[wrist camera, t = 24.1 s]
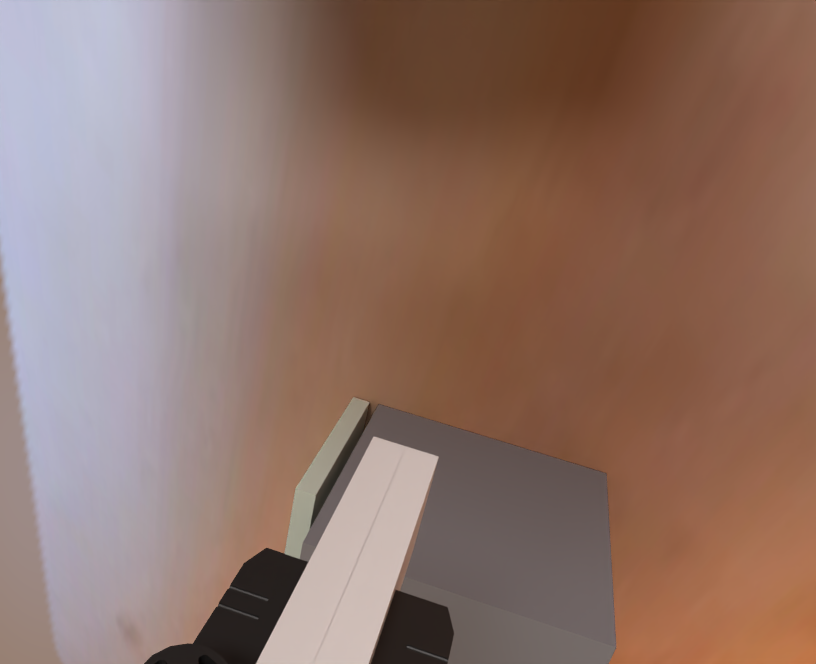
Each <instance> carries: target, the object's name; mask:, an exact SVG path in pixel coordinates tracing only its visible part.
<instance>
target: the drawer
mask: <svg viewBox="0 0 816 664" xmlns="http://www.w3.org/2000/svg"><path fill="white" fill-rule="evenodd" d="M369 403H370V402H368V401H365V400H361V399H358V398H355V397H353V398H352V400H351V401H350V403H349V405H348V406H347V408H346V409H345V411H344V413H343V414H342V416H341V417H340V419H339V420H338V422H337V424H336V425H335V427H334V428H333V430H332V432H331V433H330V435H329V436H328V438H327V440H326V441H325V443H324V444H323V446H322V447H321V449H320V451H319V452H318V454H317V455H316V457H315V459H314V460H313V462H312V463H311V465H310V467H309V468H308V470H307V471H306V473H305V474H304V476H303V478H302V479H301V481H300V482H299V484H298V486H297V487H296V489H295V495H294V501H293V507H292V513H291V519H290V524H289V530H288V536H287V542H286V548H285V554H286V555H289V556H292V557H295V558H298V559H300V555H301V549H302V544H303V541H304V539H305V537H306V536H307V534H308V532H309V530H310V528H311V527H312V525H313V523H314V521H315V519H316V517H317V516H318V514H319V512H320V510H321V508H322V506H323V505H324V503H325V501H326V499H327V497H328V496H329V494H330V492H331V490H332V488H333V486H334V485H335V483H336V481H337V479H338V477H339V476H340V474H341V472H342V470H343V468H344V466H345V465H346V463H347V461H348V459H349V457H350V456H351V454H352V452H353V450H354V448H355V446H356V445H357V443H358V441H359V439H360V437H361V435H362V434H363V431H364V426H365V421H366V417H367V412H368V407H369Z"/></svg>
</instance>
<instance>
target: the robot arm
mask: <svg viewBox="0 0 816 664" xmlns="http://www.w3.org/2000/svg"><path fill="white" fill-rule="evenodd" d="M438 458H439V457H438V456H435V455H432V454H429V453H426V452H422V451H419V450H416V449H413V448H409V447H406V446H403V445H400V444H397V443H393V442H390V441H387V440H384V439H381V438H377V437H373V439H372V441H371V442H370V444H369V446H368V448H367V450H366V452H365V454H364V456H363V458H362V460H361V462H360V464H359V466H358V468H357V469H356V471H355V473H354V475H353V477H352V479H351V481H350V483H349V485H348V487H347V489H346V491H345V493H344V495H343V496H342V498H341V500H340V502H339V504H338V506H337V508H336V510H335V512H334V514H333V516H332V518H331V520H330V522H329V524H328V525H327V527H326V529H325V531H324V533H323V535H322V537H321V539H320V541H319V543H318V545H317V547H316V549H315V551H314V552H313V554H312V556H311V558H310V560H309V562H307V561H304V560H301V559H298V558H295V557H292V556H289V555H286V554H283V553H280V552H278V551H275V550H272V549H269V548H266V549H264V550H263V551H261V552H260V553H258V554H257V555H255V556H254V557H252V558H251V559H250V560H248V561H247V562H245V563H244V564H243V566H242V567H241V569H240V571H239V572H238V574H237V575H236V577H235V578H234V580H233V582H232V583H231V585H230V588H229V589H227V591H226V593H225V594H224V596H223V597H222V599H221V600H220V602H219V605H218V607H216V608H215V610H214V611H213V613H212V614H211V616H210V618H209V619H208V621H207V622H206V624H205V625H204V627H203V629H202V630H201V632H200V633H199V635H198V636H197V638H196V640H195V641H194V643H193V644H182V645H176V646H170V647H168V648H166V649H164V650H162V651H160V652H158V653H156V654H154V655H152V656H151V657H150V658H149V659H148V660H147V661H146V662H145V663H144V664H447V663H448V659H449V655H450V650H451V646H452V641H453V636H454V630H453V626H452V622H451V618H450V614H449V610H448V607H446V606H443V605H440V604H437V603H434V602H431V601H428V600H425V599H422V598H419V597H416V596H413V595H410V594H407V593H404V592H401V591H400V589H401V586H402V583H403V580H404V577H405V573H406V570H407V567H408V564H409V561H410V558H411V555H412V552H413V549H414V545H415V542H416V538H417V534H418V531H419V527H420V523H421V520H422V516H423V512H424V509H425V505H426V501H427V498H428V494H429V491H430V487H431V483H432V480H433V476H434V472H435V469H436V465H437V461H438Z"/></svg>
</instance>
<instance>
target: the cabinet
mask: <svg viewBox="0 0 816 664" xmlns="http://www.w3.org/2000/svg"><path fill="white" fill-rule="evenodd" d="M373 437H377V438H381V439H384V440H387V441H390V442H393V443H397V444H400V445H403V446H406V447H409V448H413V449H416V450H419V451H422V452H426V453H429V454H432V455H435V456H438V457H439V458H438V461H437V465H436V469H435V472H434V476H433V480H432V483H431V487H430V491H429V494H428V498H427V501H426V505H425V509H424V512H423V516H422V520H421V523H420V527H419V531H418V534H417V538H416V542H415V545H414V549H413V552H412V555H411V558H410V561H409V564H408V567H407V570H406V573H405V577H404V580H403V583H402V586H401V589H400V591H401V592H404V593H407V594H410V595H413V596H416V597H419V598H422V599H425V600H428V601H431V602H434V603H437V604H440V605H443V606H446V607H448V610H449V614H450V618H451V622H452V626H453V630H454V636H453V641H452V646H451V650H450V655H449V659H448V663H447V664H609V662H610V659H611V657H612V655H613V653H614V651H615V649H616V633H615V616H614V598H613V580H612V562H611V545H610V527H609V509H608V491H607V474H606V473H603V472H600V471H597V470H594V469H590V468H587V467H584V466H580V465H577V464H574V463H571V462H567V461H564V460H561V459H557V458H554V457H551V456H548V455H544V454H541V453H538V452H534V451H531V450H528V449H525V448H521V447H518V446H515V445H512V444H508V443H505V442H502V441H498V440H495V439H492V438H489V437H485V436H482V435H479V434H475V433H472V432H469V431H466V430H462V429H459V428H456V427H453V426H449V425H446V424H443V423H439V422H436V421H433V420H430V419H426V418H423V417H420V416H416V415H413V414H410V413H407V412H403V411H400V410H397V409H393V408H390V407H387V406H384V405H380V404H379V405H378V406H377V408H376V410H375V412H374V414H373V415H372V417H371V419H370V421H369V423H368V425H367V426H366V428H365V430H364V432H363V434H362V435H361V437H360V439H359V441H358V443H357V445H356V446H355V448H354V450H353V452H352V454H351V456H350V457H349V459H348V461H347V463H346V465H345V466H344V468H343V470H342V472H341V474H340V476H339V477H338V479H337V481H336V483H335V485H334V486H333V488H332V490H331V492H330V494H329V496H328V497H327V499H326V501H325V503H324V505H323V506H322V508H321V510H320V512H319V514H318V516H317V517H316V519H315V521H314V523H313V525H312V527H311V528H310V530H309V532H308V534H307V536H306V537H305V539H304V541H303V544H302V549H301V555H300V559H301V560H304V561H307V562H309V560H310V558H311V556H312V554H313V552H314V551H315V549H316V547H317V545H318V543H319V541H320V539H321V537H322V535H323V533H324V531H325V529H326V527H327V525H328V524H329V522H330V520H331V518H332V516H333V514H334V512H335V510H336V508H337V506H338V504H339V502H340V500H341V498H342V496H343V495H344V493H345V491H346V489H347V487H348V485H349V483H350V481H351V479H352V477H353V475H354V473H355V471H356V469H357V468H358V466H359V464H360V462H361V460H362V458H363V456H364V454H365V452H366V450H367V448H368V446H369V444H370V442H371V441H372V439H373Z"/></svg>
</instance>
